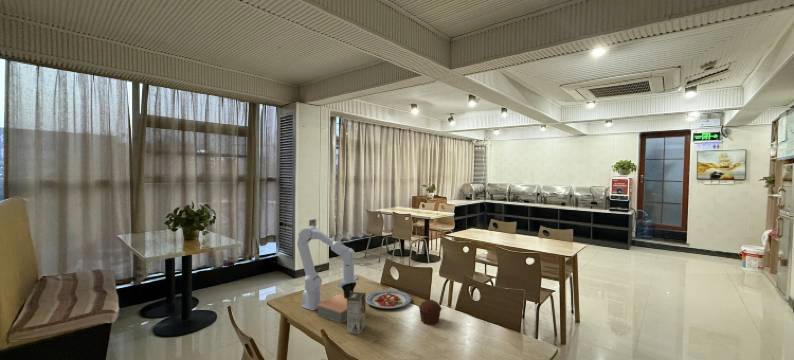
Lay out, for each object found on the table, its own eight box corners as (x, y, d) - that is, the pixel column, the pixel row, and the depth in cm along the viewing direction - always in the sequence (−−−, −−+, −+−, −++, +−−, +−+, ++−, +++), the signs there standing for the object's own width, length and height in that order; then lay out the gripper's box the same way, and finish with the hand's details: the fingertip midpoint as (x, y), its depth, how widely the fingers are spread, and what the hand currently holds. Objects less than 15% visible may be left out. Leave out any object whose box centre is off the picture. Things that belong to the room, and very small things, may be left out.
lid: (317, 305, 172) (317, 296, 172) (339, 295, 186) (339, 286, 186) (341, 313, 163) (341, 303, 163) (362, 302, 177) (362, 293, 177)
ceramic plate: (356, 301, 191) (356, 296, 191) (390, 290, 209) (390, 285, 209) (385, 316, 172) (385, 310, 172) (420, 302, 190) (420, 297, 190)
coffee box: (353, 323, 163) (353, 291, 163) (365, 325, 162) (366, 292, 161) (346, 333, 154) (346, 298, 154) (360, 334, 153) (360, 300, 152)
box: (318, 315, 172) (318, 305, 172) (339, 304, 186) (339, 295, 185) (341, 323, 164) (341, 313, 163) (361, 311, 177) (361, 302, 177)
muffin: (417, 316, 172) (417, 297, 172) (438, 315, 173) (438, 296, 173) (421, 327, 160) (421, 306, 160) (443, 326, 161) (444, 305, 161)
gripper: (344, 276, 171) (344, 302, 171) (362, 269, 183) (362, 294, 184) (334, 274, 175) (334, 299, 175) (353, 267, 187) (353, 291, 187)
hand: (348, 296), depth 180 cm, fingers closed on lid, 2 cm apart
